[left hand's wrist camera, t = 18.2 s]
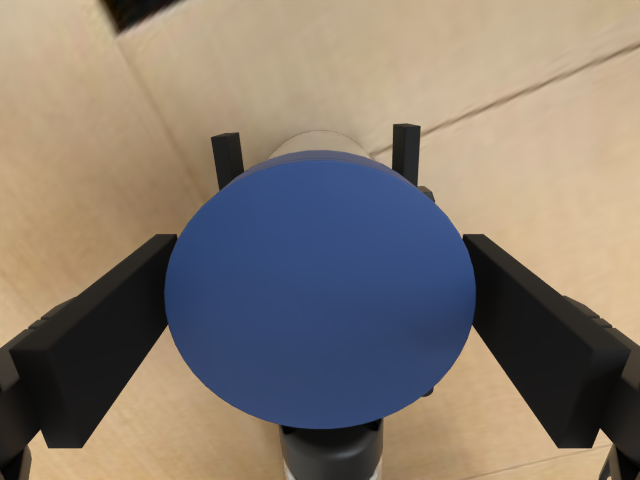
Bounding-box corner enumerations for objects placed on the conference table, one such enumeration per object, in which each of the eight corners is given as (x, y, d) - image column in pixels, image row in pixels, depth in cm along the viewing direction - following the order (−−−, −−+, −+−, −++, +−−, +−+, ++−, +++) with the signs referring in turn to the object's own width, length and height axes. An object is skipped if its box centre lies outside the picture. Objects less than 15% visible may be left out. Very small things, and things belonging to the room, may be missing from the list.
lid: (270, 87, 10) (257, 82, 8) (505, 244, 12) (544, 273, 10) (150, 315, 13) (117, 355, 11) (353, 413, 14) (359, 464, 12)
